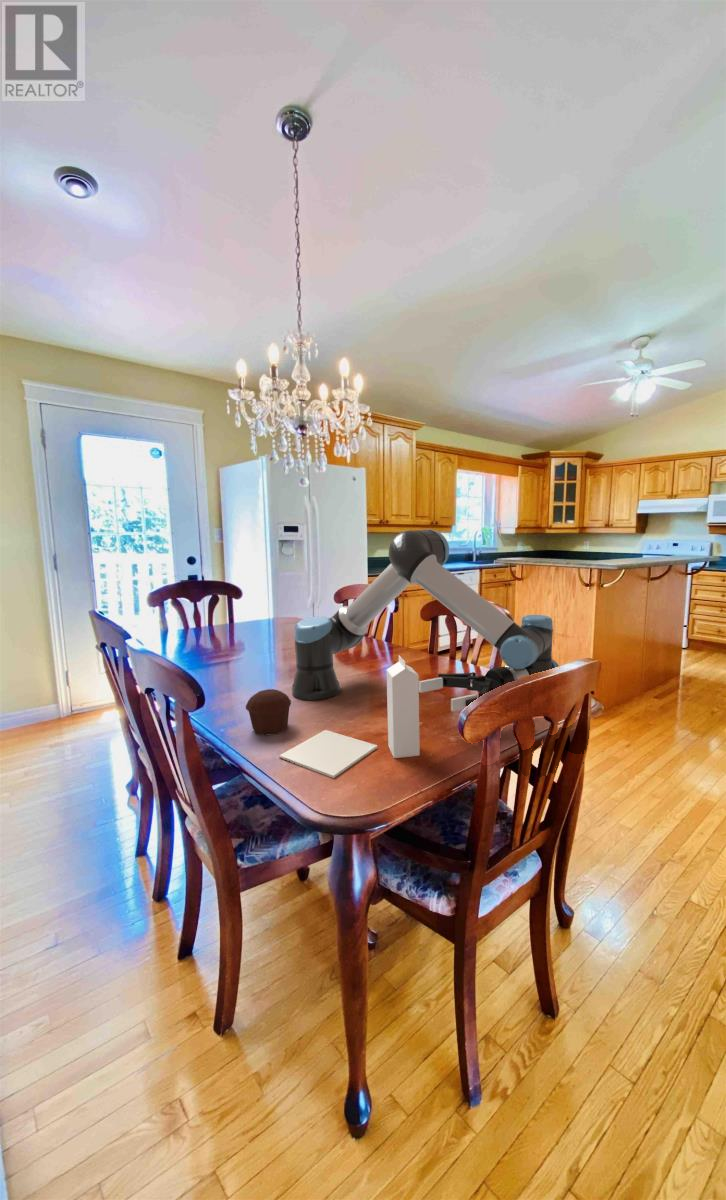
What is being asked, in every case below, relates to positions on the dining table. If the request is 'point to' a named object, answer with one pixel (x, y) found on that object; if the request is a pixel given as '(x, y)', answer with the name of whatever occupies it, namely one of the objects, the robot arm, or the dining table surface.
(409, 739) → the milk
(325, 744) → the mat
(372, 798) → the dining table surface
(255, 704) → the muffin
